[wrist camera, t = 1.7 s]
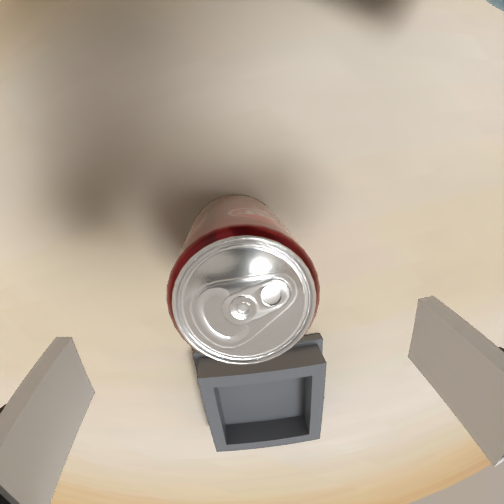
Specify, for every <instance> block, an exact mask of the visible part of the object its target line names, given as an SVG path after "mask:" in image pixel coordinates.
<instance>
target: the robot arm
mask: <svg viewBox="0 0 504 504" xmlns="http://www.w3.org/2000/svg"><path fill="white" fill-rule="evenodd" d="M486 1H487V2H489V3H490V4H492V5H493V6H495V7H496V8H498V9H500V10H502V11H504V0H486ZM408 358H409V359H410V360H411V361H412V362H413V363H414V365H415V366H416V367H417V368H418V370H419V371H420V372H421V373H422V374H423V376H424V377H425V378H426V379H427V380H428V382H429V383H430V384H431V385H432V387H433V388H434V389H435V390H436V392H437V393H438V394H439V395H440V397H441V398H442V399H443V400H444V402H445V403H446V404H447V405H448V407H449V408H450V409H451V410H452V412H453V413H454V414H455V416H456V417H457V418H458V419H459V421H460V422H461V423H462V425H463V426H464V427H465V429H466V430H467V431H468V432H469V434H470V435H471V436H472V438H473V439H474V440H475V442H476V443H477V444H478V446H479V447H480V448H481V450H482V451H483V453H484V454H485V455H486V457H487V458H488V459H489V461H490V462H491V464H492V465H493V466H494V467H495V466H497V465H498V464H499V463H501V462H502V461H504V349H503V348H501V347H497V346H496V345H495V344H494V343H492V342H491V341H490V340H489V339H488V338H486V337H485V336H484V335H483V334H482V333H480V332H479V331H478V330H477V329H475V328H474V327H473V326H472V325H470V324H469V323H468V322H467V321H465V320H464V319H463V318H462V317H460V316H459V315H458V314H457V313H455V312H454V311H453V310H451V309H450V308H449V307H447V306H446V305H445V304H444V303H442V302H441V301H440V300H438V299H437V298H436V297H434V296H430V297H425V298H421V299H418V305H417V311H416V318H415V323H414V329H413V334H412V340H411V345H410V349H409V354H408ZM94 393H95V391H94V389H93V387H92V385H91V383H90V380H89V378H88V376H87V374H86V371H85V369H84V367H83V364H82V362H81V359H80V357H79V354H78V352H77V349H76V347H75V344H74V342H73V339H72V337H56V338H55V339H54V340H53V342H52V343H51V344H50V345H49V347H48V348H47V349H46V351H45V352H44V353H43V355H42V356H41V357H40V358H39V360H38V361H37V362H36V364H35V365H34V366H33V368H32V369H31V370H30V372H29V373H28V375H27V376H26V377H25V379H24V380H23V381H22V383H21V384H20V386H19V387H18V388H17V390H16V391H15V393H14V394H13V396H12V397H11V398H10V400H9V401H8V403H7V404H5V405H4V406H3V407H1V408H0V504H50V503H51V500H52V497H53V495H54V492H55V489H56V486H57V483H58V481H59V478H60V475H61V472H62V470H63V467H64V465H65V462H66V459H67V457H68V454H69V452H70V449H71V447H72V444H73V442H74V439H75V437H76V435H77V432H78V430H79V427H80V425H81V423H82V420H83V418H84V416H85V414H86V411H87V409H88V407H89V404H90V402H91V400H92V398H93V396H94Z"/></svg>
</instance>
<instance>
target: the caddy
mask: <svg viewBox="0 0 504 504" xmlns="http://www.w3.org/2000/svg"><path fill="white" fill-rule="evenodd" d="M322 345H323V338H322V336H321V335H320V333H319V334H312V335H306V336H303V338H302V339H301V340H299V341H298V342H297V343H296V344H295V345H294V346H293V347H292V348H290V349H289V350H287V351H286V352H284V353H283V354H281V355H280V356H277V357H275V358H273V359H270V360H268V361H264V362H260V363H256V364H246V365H238V364H228V363H224V362H220V361H217V360H214V359H212V358H209V357H207V356H205V355H203V354H201V353H200V352H198V351H197V350H195V349H193V357H194V361H195V366H196V370H197V380H198V384H199V388H200V392H201V396H202V400H203V404H204V408H205V412H206V415H207V419H208V423H209V426H210V430H211V434H212V437H213V441H214V444H215V447H216V451H217V452H221V451H235V450H246V449H256V448H265V447H273V446H280V445H287V444H293V443H299V442H305V441H310V440H315V439H320V432H321V422H322V412H323V401H324V389H325V375H326V361H325V359H324V357H323V355H322Z"/></svg>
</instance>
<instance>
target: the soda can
mask: <svg viewBox="0 0 504 504" xmlns="http://www.w3.org/2000/svg"><path fill="white" fill-rule="evenodd" d="M319 297H320V286H319V280H318V275H317V272H316V270H315V267H314V265H313V262H312V260H311V259H310V258H309V256H308V255H307V253H306V252H305V251H304V249H303V248H302V247H301V246H300V244H299V243H298V242H297V241H296V240H295V238H294V237H293V236H292V235H291V234H290V232H289V231H288V230H287V229H286V228H285V226H284V225H283V224H282V223H281V222H280V220H279V219H278V218H277V217H276V216H275V214H274V213H273V212H272V211H271V210H270V209H269V208H268V207H267V206H266V205H265V204H263V203H262V202H260V201H258V200H256V199H254V198H251V197H248V196H242V195H231V196H225V197H222V198H219V199H217V200H215V201H213V202H211V203H210V204H208V205H207V206H206V207H204V208H203V209H202V211H201V212H200V213H199V214H198V215H197V217H196V219H195V221H194V223H193V225H192V227H191V229H190V231H189V233H188V235H187V238H186V240H185V242H184V244H183V246H182V248H181V251H180V253H179V255H178V257H177V259H176V262H175V264H174V266H173V268H172V270H171V273H170V277H169V281H168V284H167V305H168V310H169V314H170V317H171V319H172V322H173V324H174V326H175V328H176V329H177V331H178V332H179V334H180V335H181V337H182V338H183V339H184V340H185V341H186V342H187V343H188V344H189V345H190V346H191V347H192V348H194V349H195V350H197V351H198V352H200V353H201V354H203V355H205V356H207V357H209V358H212V359H214V360H217V361H220V362H224V363H228V364H238V365H246V364H256V363H260V362H264V361H268V360H270V359H273V358H275V357H277V356H280V355H281V354H283V353H284V352H286V351H287V350H289V349H290V348H292V347H293V346H294V345H295V344H296V343H297V342H298V341H299V340H301V339H302V338H303V336H304V335H305V334H306V332H307V331H308V329H309V328H310V326H311V324H312V322H313V320H314V318H315V316H316V313H317V309H318V305H319Z"/></svg>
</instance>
